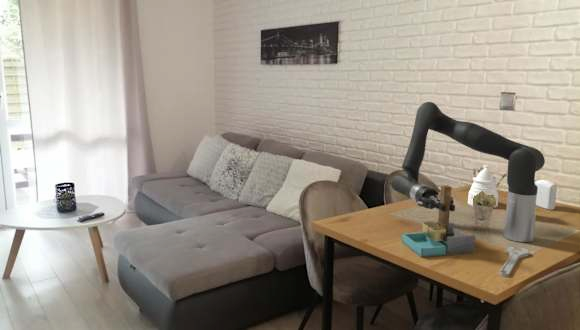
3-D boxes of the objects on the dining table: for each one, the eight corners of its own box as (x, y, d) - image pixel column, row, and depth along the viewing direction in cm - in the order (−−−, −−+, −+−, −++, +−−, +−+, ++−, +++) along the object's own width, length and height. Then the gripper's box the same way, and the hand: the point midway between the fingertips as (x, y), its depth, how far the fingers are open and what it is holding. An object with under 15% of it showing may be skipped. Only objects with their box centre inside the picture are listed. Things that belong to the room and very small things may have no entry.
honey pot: (470, 199, 216) (473, 162, 212) (499, 202, 209) (502, 165, 206) (465, 205, 205) (468, 167, 201) (495, 209, 198) (499, 170, 195)
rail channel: (450, 238, 162) (452, 222, 161) (474, 252, 148) (475, 235, 147) (425, 240, 160) (426, 224, 159) (447, 255, 146) (448, 237, 145)
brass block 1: (432, 231, 156) (432, 221, 156) (438, 235, 152) (438, 224, 152) (422, 233, 156) (422, 222, 155) (428, 237, 152) (428, 226, 151)
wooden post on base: (439, 229, 157) (443, 183, 154) (453, 238, 149) (457, 189, 145) (432, 230, 157) (435, 183, 154) (445, 239, 148) (449, 189, 145)
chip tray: (425, 240, 160) (425, 232, 159) (446, 255, 146) (446, 246, 146) (401, 241, 158) (402, 233, 157) (421, 257, 144) (421, 248, 144)
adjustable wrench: (507, 279, 130) (508, 273, 130) (485, 273, 134) (485, 267, 134) (530, 254, 148) (530, 249, 148) (509, 249, 152) (510, 244, 152)
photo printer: (530, 204, 207) (533, 178, 205) (538, 203, 208) (541, 177, 206) (547, 210, 197) (551, 183, 195) (556, 209, 198) (559, 182, 196)
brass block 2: (439, 236, 152) (439, 225, 151) (445, 240, 148) (445, 228, 147) (428, 237, 151) (428, 226, 151) (434, 241, 147) (434, 230, 147)
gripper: (407, 186, 162) (431, 198, 146) (441, 184, 165) (469, 196, 149) (406, 206, 164) (429, 220, 147) (440, 204, 167) (467, 218, 150)
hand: (449, 208), depth 148 cm, fingers closed on wooden post on base, 2 cm apart
